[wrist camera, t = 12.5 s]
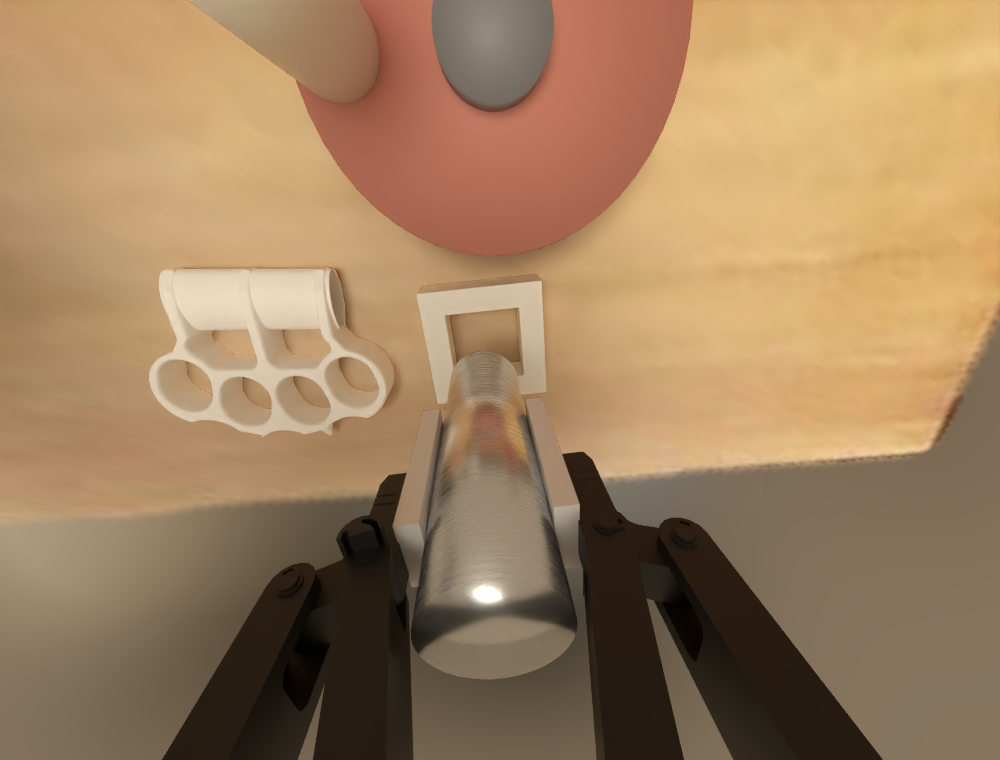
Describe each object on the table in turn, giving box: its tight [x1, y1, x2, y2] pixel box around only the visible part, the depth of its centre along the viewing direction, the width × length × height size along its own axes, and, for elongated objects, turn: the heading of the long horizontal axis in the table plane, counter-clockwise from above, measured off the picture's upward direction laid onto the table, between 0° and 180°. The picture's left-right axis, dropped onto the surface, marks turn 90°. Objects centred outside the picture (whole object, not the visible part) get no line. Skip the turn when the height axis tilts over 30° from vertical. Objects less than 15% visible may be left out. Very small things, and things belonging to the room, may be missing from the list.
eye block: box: [416, 274, 547, 404], centre depth 28 cm, size 9×9×3 cm
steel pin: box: [411, 351, 577, 679], centre depth 15 cm, size 4×4×14 cm
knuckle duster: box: [149, 268, 395, 438], centre depth 29 cm, size 3×18×15 cm
